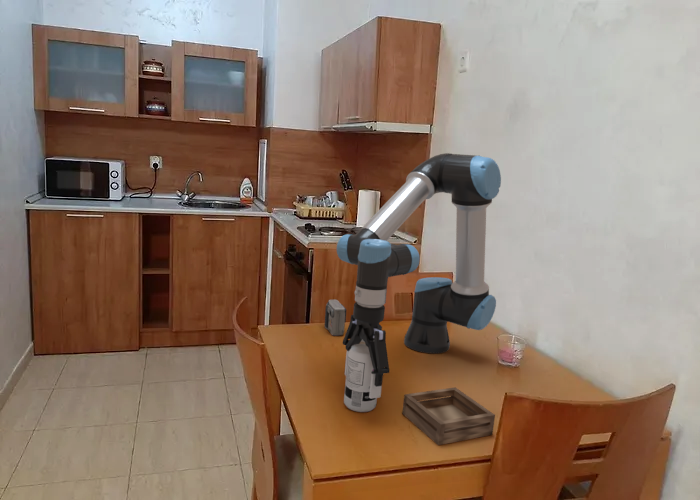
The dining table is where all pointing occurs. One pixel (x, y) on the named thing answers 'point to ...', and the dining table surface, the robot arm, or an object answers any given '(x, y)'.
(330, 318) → the camera
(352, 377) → the supplement can
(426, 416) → the crate
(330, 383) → the dining table surface
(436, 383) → the dining table surface
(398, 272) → the robot arm
